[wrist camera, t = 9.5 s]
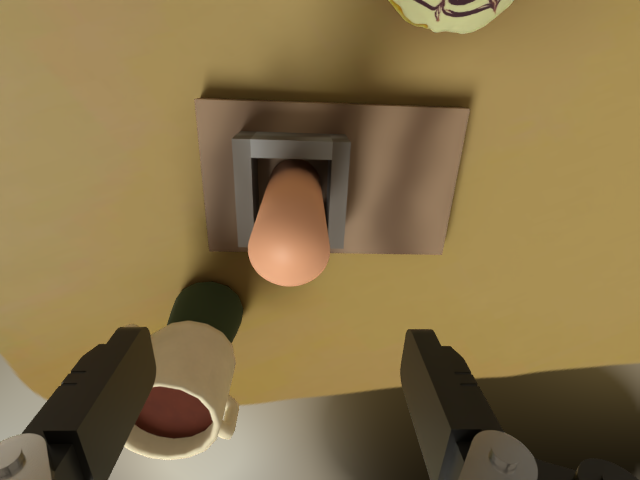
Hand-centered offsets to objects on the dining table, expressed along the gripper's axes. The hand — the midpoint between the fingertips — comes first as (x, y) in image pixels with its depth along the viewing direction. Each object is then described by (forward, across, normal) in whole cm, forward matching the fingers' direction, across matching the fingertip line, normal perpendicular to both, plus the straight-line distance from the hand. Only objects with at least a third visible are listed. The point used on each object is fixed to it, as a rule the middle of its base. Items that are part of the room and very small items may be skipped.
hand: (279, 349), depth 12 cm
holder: (+20, -3, 0) cm, 21 cm away
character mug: (+21, +8, +13) cm, 25 cm away
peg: (+19, 0, 0) cm, 19 cm away
